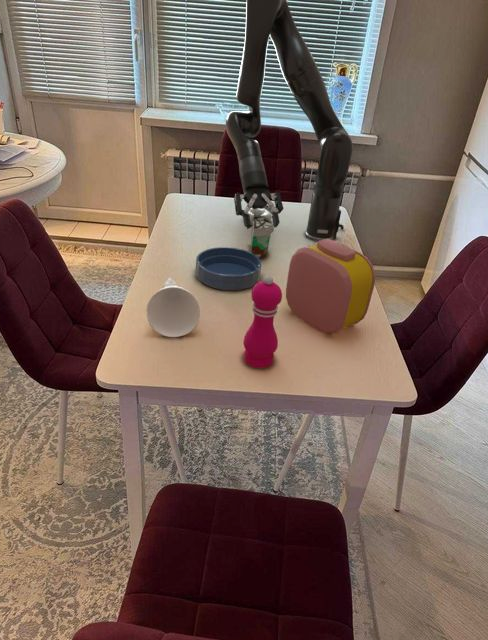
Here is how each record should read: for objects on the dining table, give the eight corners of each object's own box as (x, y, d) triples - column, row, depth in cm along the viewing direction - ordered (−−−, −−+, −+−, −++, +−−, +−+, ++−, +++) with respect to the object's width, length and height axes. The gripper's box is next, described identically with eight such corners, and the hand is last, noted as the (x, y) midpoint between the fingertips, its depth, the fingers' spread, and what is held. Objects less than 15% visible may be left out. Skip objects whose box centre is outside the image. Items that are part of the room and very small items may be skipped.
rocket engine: (170, 256, 120) (170, 276, 104) (205, 287, 125) (211, 310, 108) (140, 290, 123) (135, 315, 106) (175, 319, 127) (176, 347, 111)
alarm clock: (364, 330, 119) (384, 256, 108) (335, 344, 113) (353, 268, 102) (309, 297, 130) (322, 227, 119) (279, 309, 123) (289, 236, 112)
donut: (265, 216, 176) (238, 216, 173) (266, 206, 174) (239, 206, 171) (274, 226, 168) (247, 227, 165) (276, 217, 166) (248, 217, 163)
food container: (271, 263, 144) (275, 231, 139) (250, 261, 144) (253, 229, 138) (270, 246, 154) (274, 215, 149) (250, 244, 154) (253, 213, 148)
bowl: (247, 259, 145) (248, 245, 142) (269, 288, 132) (270, 273, 129) (189, 263, 140) (189, 249, 137) (205, 294, 126) (206, 278, 124)
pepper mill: (273, 350, 109) (286, 268, 97) (276, 370, 103) (289, 286, 91) (241, 348, 108) (249, 266, 97) (242, 369, 102) (251, 283, 91)
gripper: (233, 169, 141) (243, 223, 139) (279, 168, 145) (289, 220, 143) (227, 182, 148) (236, 233, 146) (271, 181, 152) (280, 230, 151)
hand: (262, 227), depth 145 cm, fingers open, 8 cm apart
